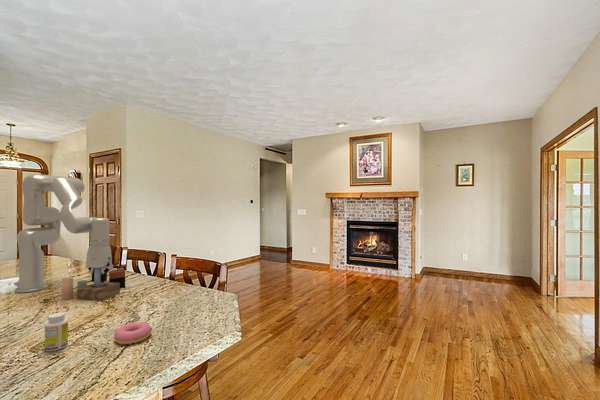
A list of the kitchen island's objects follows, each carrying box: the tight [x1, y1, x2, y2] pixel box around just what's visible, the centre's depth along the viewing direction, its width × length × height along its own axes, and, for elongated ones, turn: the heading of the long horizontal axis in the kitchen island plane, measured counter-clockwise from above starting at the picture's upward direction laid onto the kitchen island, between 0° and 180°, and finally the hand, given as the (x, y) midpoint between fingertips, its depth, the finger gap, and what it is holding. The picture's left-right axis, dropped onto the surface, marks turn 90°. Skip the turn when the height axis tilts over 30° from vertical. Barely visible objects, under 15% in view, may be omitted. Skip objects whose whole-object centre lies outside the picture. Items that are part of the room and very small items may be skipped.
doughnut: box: [113, 321, 152, 345], centre depth 97 cm, size 11×11×4 cm
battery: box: [108, 267, 126, 289], centre depth 155 cm, size 4×7×10 cm, turn 133°
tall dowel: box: [93, 268, 104, 288], centre depth 141 cm, size 4×4×14 cm
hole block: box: [76, 281, 121, 302], centre depth 141 cm, size 12×12×5 cm
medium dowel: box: [61, 277, 74, 301], centre depth 137 cm, size 4×4×9 cm
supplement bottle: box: [44, 312, 69, 352], centre depth 91 cm, size 6×6×10 cm
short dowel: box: [76, 279, 88, 290], centre depth 145 cm, size 4×4×6 cm
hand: (99, 281), depth 141 cm, fingers closed on tall dowel, 4 cm apart
